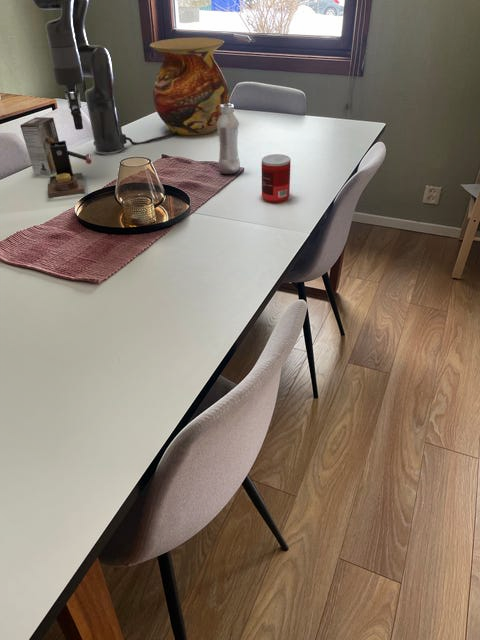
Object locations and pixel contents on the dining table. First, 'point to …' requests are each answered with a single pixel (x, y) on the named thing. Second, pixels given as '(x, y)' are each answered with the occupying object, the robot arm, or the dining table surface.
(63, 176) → the button
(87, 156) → the lever
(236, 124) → the plastic bottle
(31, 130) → the coffee box
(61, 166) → the lever bracket
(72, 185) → the switch plate
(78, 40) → the robot arm
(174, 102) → the vase
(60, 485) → the dining table surface
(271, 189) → the canned food
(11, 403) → the dining table surface
